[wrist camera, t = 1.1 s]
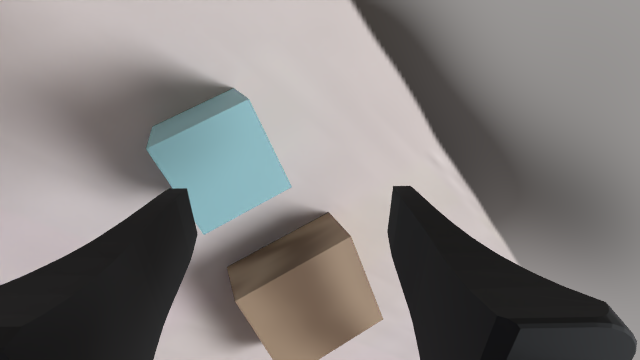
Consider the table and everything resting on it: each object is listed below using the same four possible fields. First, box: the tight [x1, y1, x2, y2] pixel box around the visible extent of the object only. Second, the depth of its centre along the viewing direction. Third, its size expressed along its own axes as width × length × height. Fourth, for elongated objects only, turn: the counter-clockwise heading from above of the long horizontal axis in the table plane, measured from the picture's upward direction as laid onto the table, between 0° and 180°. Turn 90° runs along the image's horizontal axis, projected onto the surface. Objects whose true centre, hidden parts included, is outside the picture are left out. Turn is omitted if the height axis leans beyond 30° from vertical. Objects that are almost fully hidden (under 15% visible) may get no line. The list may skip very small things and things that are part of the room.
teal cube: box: [146, 88, 292, 234], centre depth 19 cm, size 5×5×5 cm
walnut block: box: [227, 212, 383, 360], centre depth 26 cm, size 8×8×4 cm
